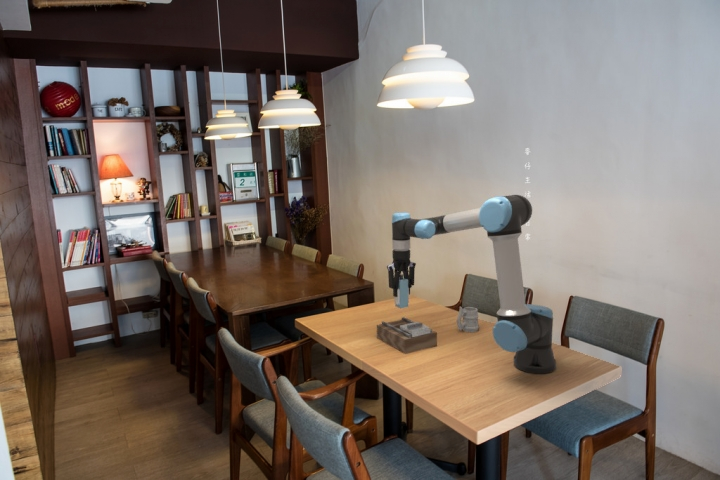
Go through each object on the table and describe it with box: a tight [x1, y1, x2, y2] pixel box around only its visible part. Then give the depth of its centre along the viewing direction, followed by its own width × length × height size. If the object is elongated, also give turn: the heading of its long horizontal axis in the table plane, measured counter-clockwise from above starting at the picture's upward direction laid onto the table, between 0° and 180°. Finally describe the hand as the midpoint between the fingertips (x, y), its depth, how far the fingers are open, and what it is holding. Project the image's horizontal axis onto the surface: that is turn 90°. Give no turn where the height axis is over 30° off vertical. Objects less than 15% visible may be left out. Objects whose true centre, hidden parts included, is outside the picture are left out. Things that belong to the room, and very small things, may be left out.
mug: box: [456, 306, 480, 333], centre depth 236 cm, size 8×12×12 cm, turn 124°
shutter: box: [400, 321, 431, 337], centre depth 218 cm, size 9×9×3 cm
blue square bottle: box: [394, 273, 409, 309], centre depth 224 cm, size 4×4×14 cm
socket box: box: [376, 316, 438, 355], centre depth 224 cm, size 22×16×7 cm
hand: (401, 302), depth 224 cm, fingers closed on blue square bottle, 4 cm apart
